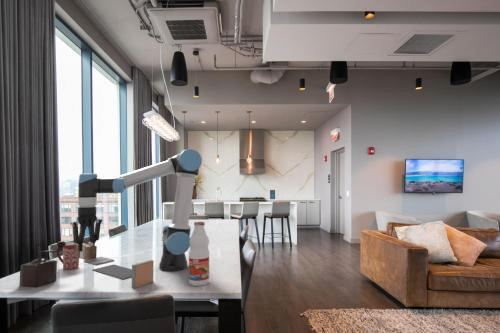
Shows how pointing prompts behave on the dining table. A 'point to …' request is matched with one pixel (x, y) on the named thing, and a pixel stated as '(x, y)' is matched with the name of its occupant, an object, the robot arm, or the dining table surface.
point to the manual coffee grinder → (40, 269)
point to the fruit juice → (199, 256)
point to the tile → (142, 273)
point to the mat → (115, 271)
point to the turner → (91, 255)
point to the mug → (69, 257)
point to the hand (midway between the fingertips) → (86, 257)
